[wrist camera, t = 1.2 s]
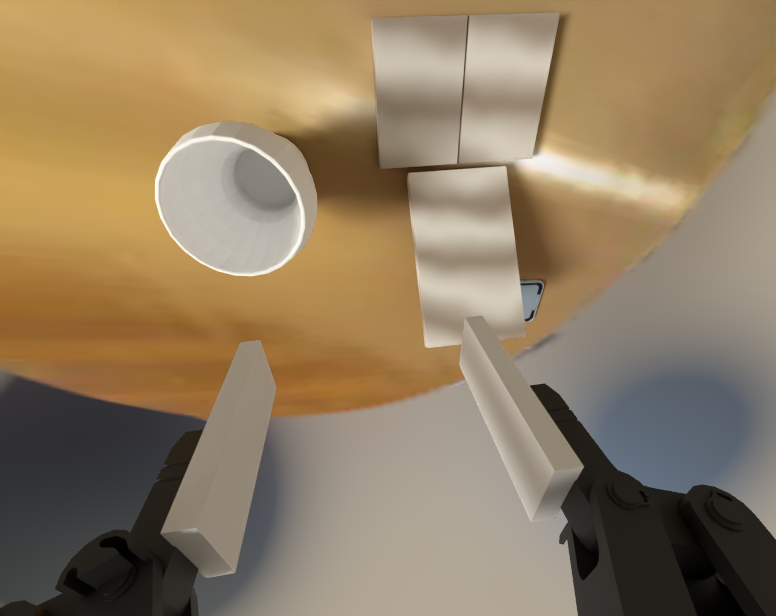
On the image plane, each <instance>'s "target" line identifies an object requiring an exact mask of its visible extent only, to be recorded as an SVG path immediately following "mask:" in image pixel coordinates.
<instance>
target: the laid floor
mask: <svg viewBox="0 0 776 616" xmlns="http://www.w3.org/2000/svg"><path fill="white" fill-rule="evenodd" d="M559 16H560V12H559V13H523V14H488V15H469V16H468V15H452V16H416V17H381V18H372V21H371V28H372V47H373V65H374V83H375V102H376V120H377V139H378V157H379V167H380V169H389V168H403V167H418V166H432V165H447V164H457V163H458V164H461V163H476V162H490V161H505V160H519V159H532V156H533V151H534V146H535V140H536V135H537V130H538V125H539V120H540V115H541V109H542V104H543V99H544V94H545V89H546V84H547V78H548V73H549V68H550V63H551V58H552V53H553V47H554V42H555V37H556V32H557V27H558V22H559Z"/></svg>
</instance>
